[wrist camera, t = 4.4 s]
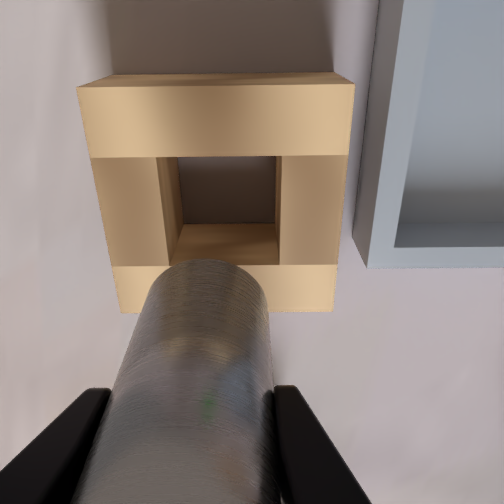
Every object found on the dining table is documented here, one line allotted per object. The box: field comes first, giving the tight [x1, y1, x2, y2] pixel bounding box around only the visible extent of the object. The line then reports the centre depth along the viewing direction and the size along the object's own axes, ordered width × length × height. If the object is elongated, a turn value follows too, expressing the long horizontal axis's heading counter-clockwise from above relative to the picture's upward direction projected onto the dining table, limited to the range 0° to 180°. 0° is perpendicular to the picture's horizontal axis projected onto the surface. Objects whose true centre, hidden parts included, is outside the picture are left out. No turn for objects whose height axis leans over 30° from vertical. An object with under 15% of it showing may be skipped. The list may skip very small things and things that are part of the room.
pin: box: [70, 258, 281, 504], centre depth 7 cm, size 3×3×8 cm
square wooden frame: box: [76, 72, 355, 313], centre depth 17 cm, size 9×9×4 cm
